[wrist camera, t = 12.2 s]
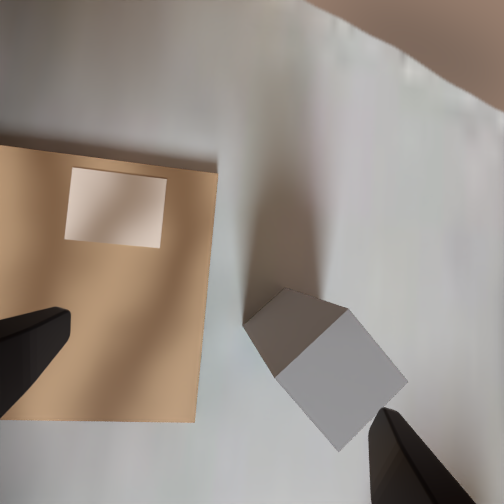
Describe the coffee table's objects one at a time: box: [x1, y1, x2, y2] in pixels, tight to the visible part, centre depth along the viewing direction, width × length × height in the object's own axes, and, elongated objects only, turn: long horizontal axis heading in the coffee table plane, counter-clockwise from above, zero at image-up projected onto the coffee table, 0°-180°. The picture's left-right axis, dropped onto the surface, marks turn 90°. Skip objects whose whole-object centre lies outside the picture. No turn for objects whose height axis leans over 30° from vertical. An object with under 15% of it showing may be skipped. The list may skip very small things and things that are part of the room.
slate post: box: [243, 288, 408, 452], centre depth 18 cm, size 4×4×10 cm
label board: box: [0, 145, 218, 423], centre depth 20 cm, size 21×16×1 cm
